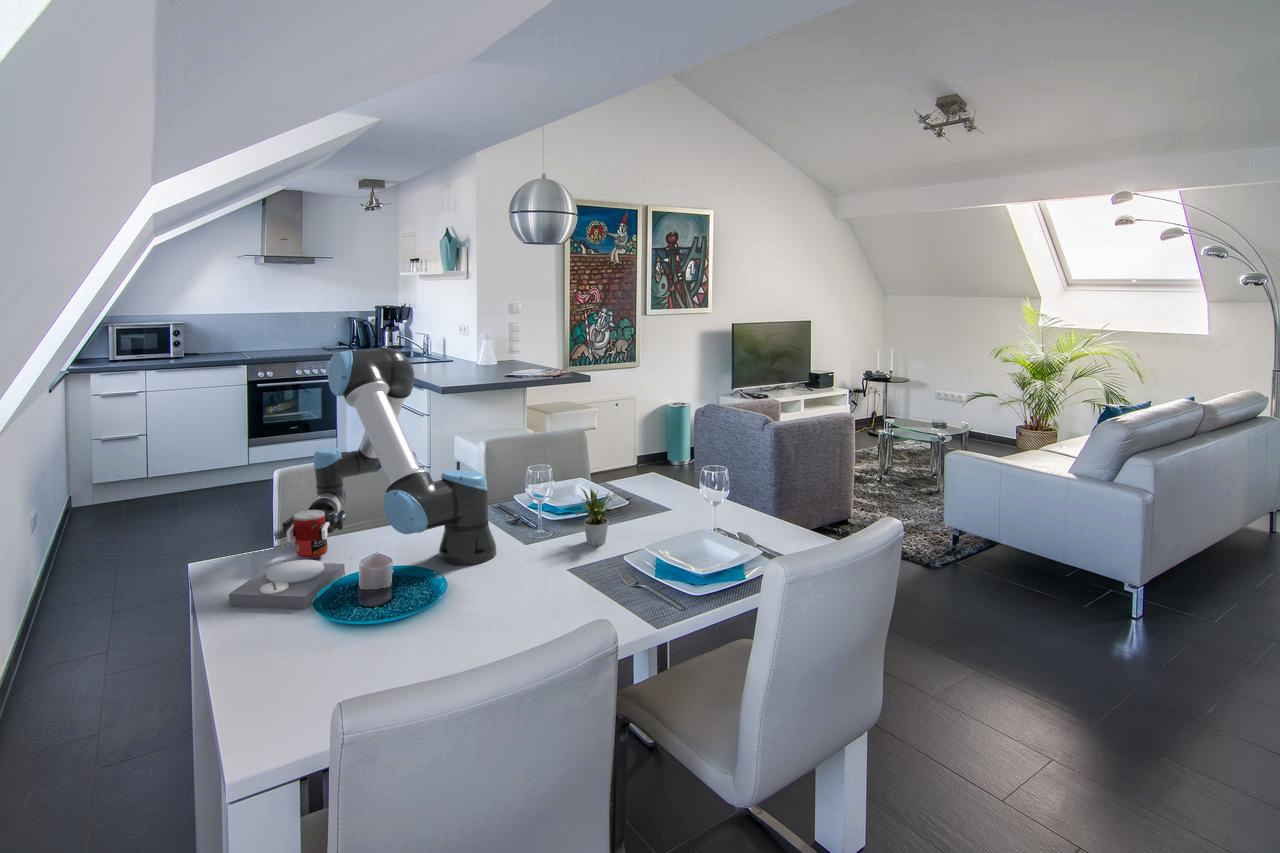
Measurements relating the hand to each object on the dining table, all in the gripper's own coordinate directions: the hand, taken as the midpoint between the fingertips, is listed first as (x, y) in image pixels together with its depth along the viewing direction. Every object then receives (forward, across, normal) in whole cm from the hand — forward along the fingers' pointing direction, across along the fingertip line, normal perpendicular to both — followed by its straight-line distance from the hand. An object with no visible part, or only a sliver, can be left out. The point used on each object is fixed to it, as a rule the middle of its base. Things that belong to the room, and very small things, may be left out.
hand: (306, 535), depth 201 cm
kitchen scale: (+17, +1, -8) cm, 19 cm away
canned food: (-5, 0, -7) cm, 8 cm away
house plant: (-3, -75, -8) cm, 76 cm away
